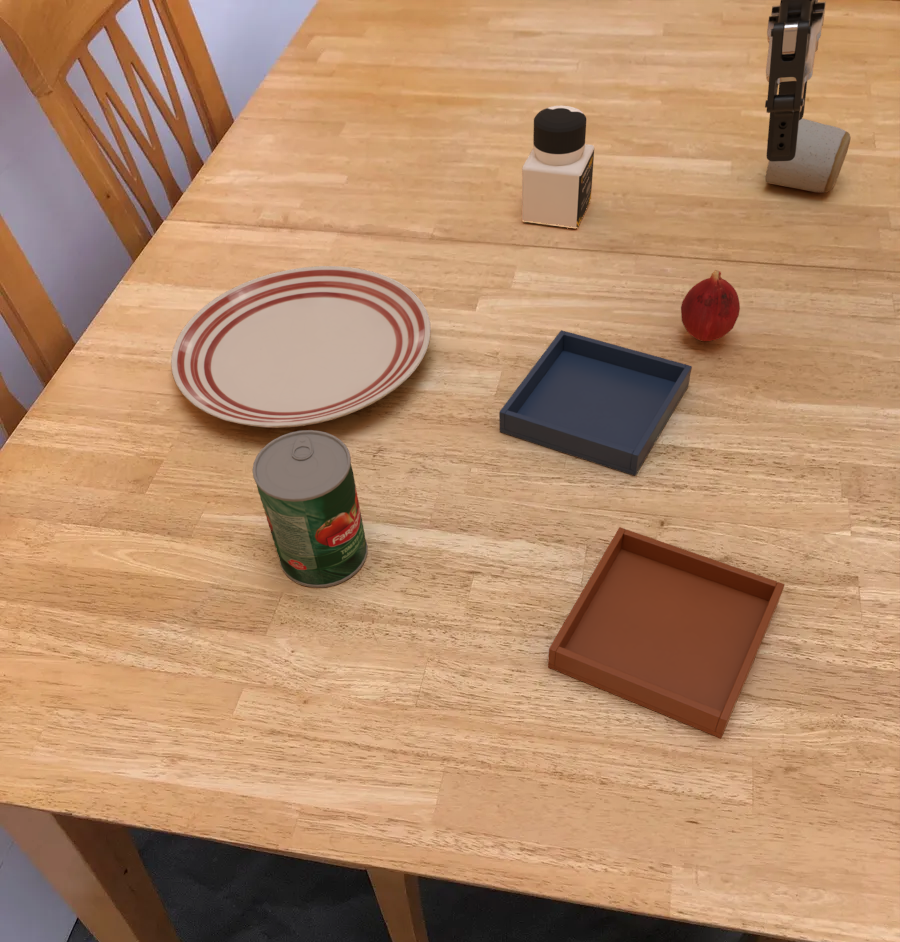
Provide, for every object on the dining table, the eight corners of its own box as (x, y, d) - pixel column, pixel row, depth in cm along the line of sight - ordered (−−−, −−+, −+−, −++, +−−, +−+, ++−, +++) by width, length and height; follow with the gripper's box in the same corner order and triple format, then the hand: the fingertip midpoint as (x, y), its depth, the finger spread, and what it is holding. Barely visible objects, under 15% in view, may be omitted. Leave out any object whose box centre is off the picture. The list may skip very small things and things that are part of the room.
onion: (742, 350, 96) (758, 282, 90) (691, 362, 96) (703, 295, 89) (716, 318, 100) (730, 251, 94) (667, 330, 99) (677, 263, 93)
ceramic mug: (827, 206, 112) (845, 142, 106) (760, 193, 115) (774, 130, 109) (845, 166, 118) (864, 103, 112) (781, 155, 121) (796, 93, 115)
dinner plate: (127, 416, 95) (116, 390, 93) (256, 271, 111) (250, 245, 108) (368, 475, 88) (363, 449, 85) (470, 311, 103) (469, 284, 101)
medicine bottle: (577, 231, 112) (583, 130, 103) (521, 223, 114) (521, 124, 104) (591, 200, 116) (598, 101, 107) (536, 194, 118) (538, 96, 108)
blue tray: (688, 386, 93) (692, 365, 91) (635, 476, 86) (638, 455, 84) (560, 350, 98) (560, 329, 96) (499, 432, 91) (499, 411, 89)
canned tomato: (368, 583, 80) (351, 493, 71) (278, 592, 80) (249, 503, 71) (366, 516, 85) (350, 425, 76) (281, 525, 85) (254, 434, 76)
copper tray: (777, 603, 76) (785, 583, 74) (721, 738, 69) (727, 721, 67) (616, 546, 81) (619, 526, 79) (547, 667, 73) (548, 648, 71)
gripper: (860, -79, 61) (828, 173, 72) (867, -126, 70) (837, 105, 81) (741, -66, 63) (728, 175, 74) (763, -112, 72) (748, 109, 83)
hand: (785, 138), depth 78 cm, fingers open, 8 cm apart
